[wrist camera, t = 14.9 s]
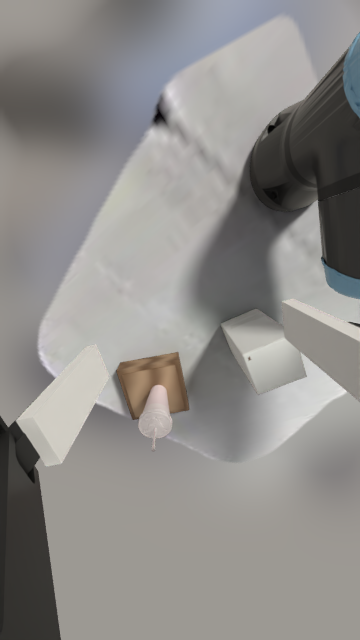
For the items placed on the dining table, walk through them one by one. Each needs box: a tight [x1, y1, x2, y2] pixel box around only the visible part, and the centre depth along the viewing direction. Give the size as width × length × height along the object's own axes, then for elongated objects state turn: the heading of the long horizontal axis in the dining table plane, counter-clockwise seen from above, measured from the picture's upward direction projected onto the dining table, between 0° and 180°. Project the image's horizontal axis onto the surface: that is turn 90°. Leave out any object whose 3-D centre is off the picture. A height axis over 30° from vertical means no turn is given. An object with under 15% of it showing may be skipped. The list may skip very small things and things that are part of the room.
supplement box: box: [221, 309, 307, 395], centre depth 40 cm, size 9×9×15 cm
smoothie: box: [138, 385, 172, 451], centre depth 40 cm, size 6×6×14 cm
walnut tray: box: [117, 352, 189, 420], centre depth 49 cm, size 14×14×4 cm
